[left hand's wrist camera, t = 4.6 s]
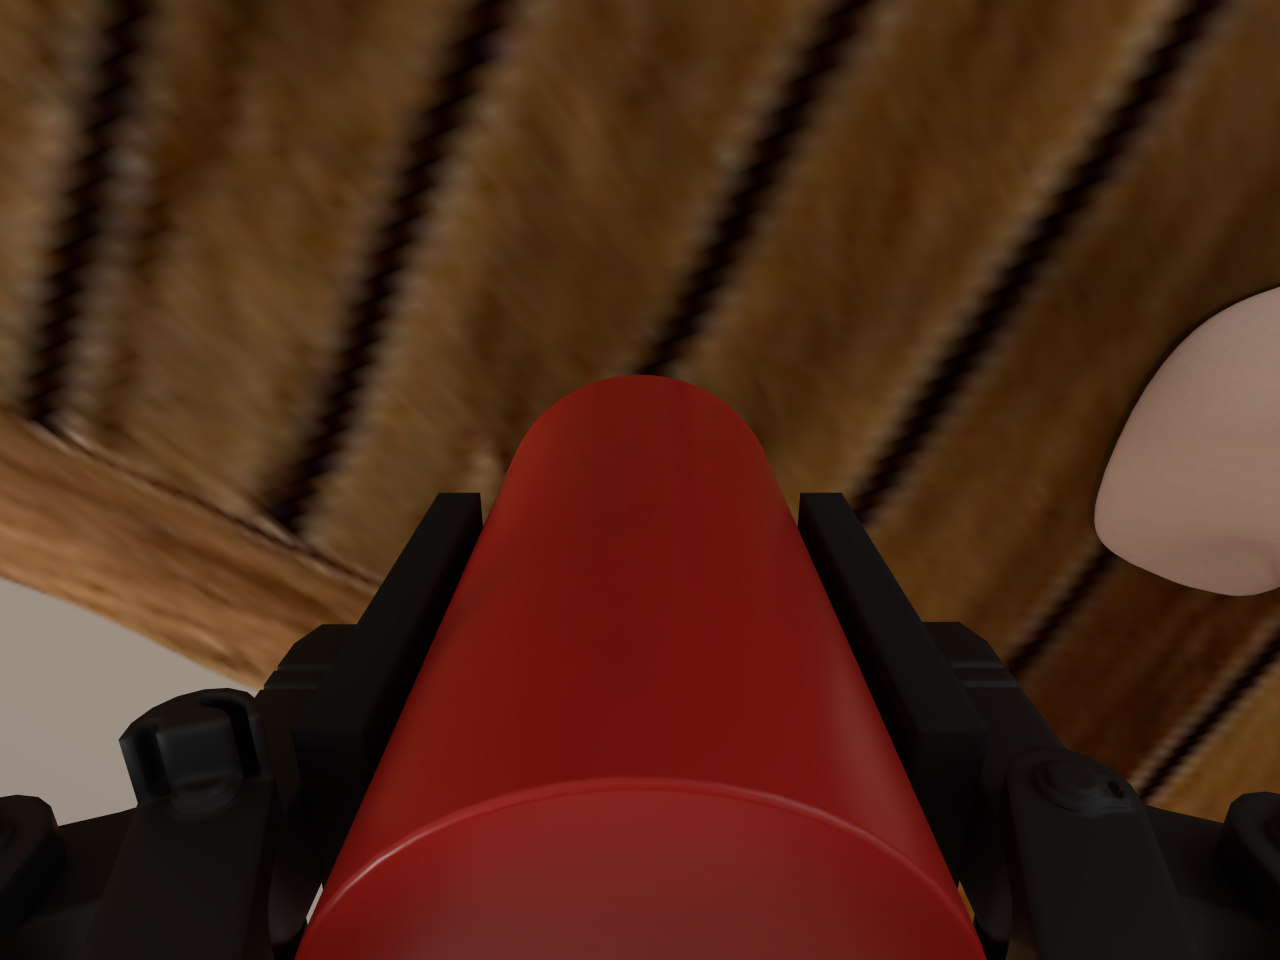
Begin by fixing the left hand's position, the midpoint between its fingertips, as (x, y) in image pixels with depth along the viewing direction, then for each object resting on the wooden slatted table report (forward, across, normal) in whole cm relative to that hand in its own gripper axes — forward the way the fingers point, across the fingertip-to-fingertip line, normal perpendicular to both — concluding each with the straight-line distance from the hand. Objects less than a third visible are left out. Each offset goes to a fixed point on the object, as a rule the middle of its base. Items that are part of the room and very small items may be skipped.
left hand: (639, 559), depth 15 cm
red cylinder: (+3, 0, 0) cm, 3 cm away
